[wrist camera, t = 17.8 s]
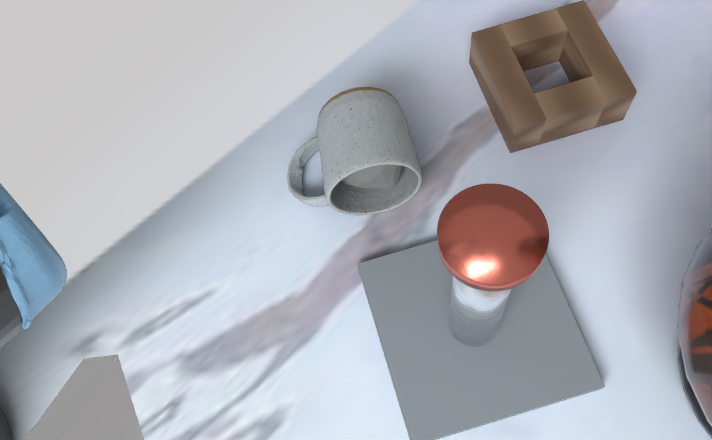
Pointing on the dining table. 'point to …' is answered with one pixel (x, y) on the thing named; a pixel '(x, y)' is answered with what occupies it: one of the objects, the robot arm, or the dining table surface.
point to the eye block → (559, 104)
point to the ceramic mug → (360, 154)
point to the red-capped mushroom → (488, 255)
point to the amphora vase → (697, 333)
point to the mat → (472, 364)
